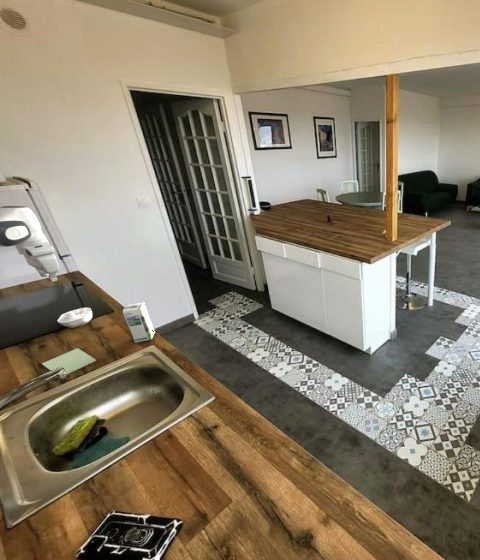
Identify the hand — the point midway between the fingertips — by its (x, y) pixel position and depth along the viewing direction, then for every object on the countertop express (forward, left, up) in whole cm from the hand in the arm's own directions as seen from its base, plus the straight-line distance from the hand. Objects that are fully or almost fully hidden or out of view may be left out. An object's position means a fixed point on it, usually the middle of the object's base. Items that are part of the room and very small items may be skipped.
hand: (49, 278), depth 127 cm
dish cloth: (-13, -37, -19) cm, 44 cm away
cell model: (0, -10, -20) cm, 22 cm away
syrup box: (+8, -44, -20) cm, 49 cm away
